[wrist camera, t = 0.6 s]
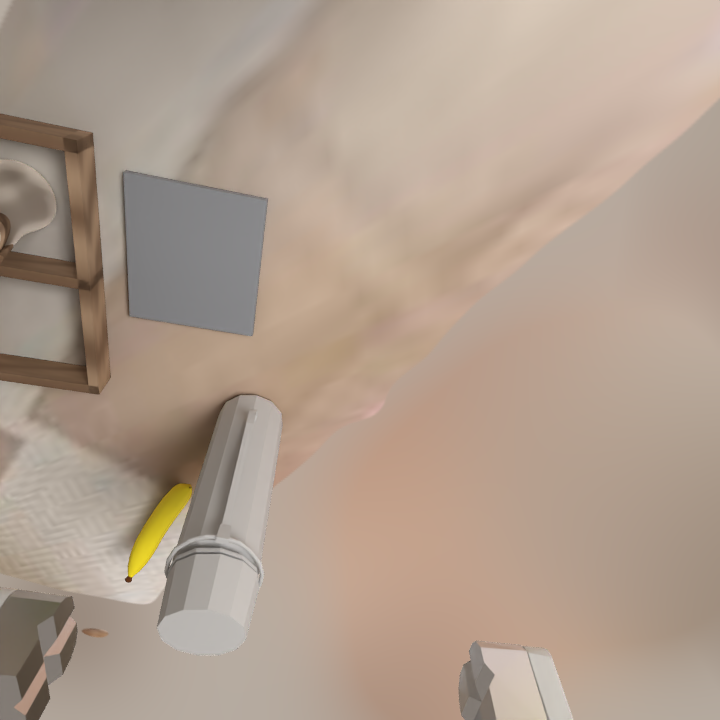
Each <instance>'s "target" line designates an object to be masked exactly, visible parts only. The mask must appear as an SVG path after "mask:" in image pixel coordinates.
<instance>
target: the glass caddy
mask: <svg viewBox="0 0 720 720" xmlns="http://www.w3.org/2000/svg"><path fill="white" fill-rule="evenodd" d="M0 138H2V139H7V140H12V141H17V142H22V143H27V144H32V145H37V146H42V147H47V148H52V149H57V150H62V151H64V153H65V163H66V173H67V182H68V192H69V202H70V211H71V221H72V231H73V240H74V250H75V260H76V263H75V262H69V261H63V260H58V259H52V258H46V257H40V256H35V255H29V254H23V253H18V252H12V251H10V252H9V254H8V255H7V256H6V257H5V259H4V260H3V261H2V262H1V263H0V276H4V277H10V278H16V279H22V280H28V281H34V282H40V283H46V284H52V285H58V286H63V287H69V288H75V289H79V298H80V308H81V318H82V328H83V337H84V347H85V357H86V366H80V365H73V364H67V363H60V362H54V361H47V360H40V359H34V358H27V357H20V356H14V355H7V354H0V380H2V381H9V382H16V383H23V384H30V385H37V386H44V387H51V388H58V389H65V390H72V391H79V392H86V393H92V394H100V393H101V391H102V390H103V388H104V387H105V385H106V384H107V382H108V381H109V379H110V378H111V376H110V362H109V349H108V335H107V321H106V308H105V294H104V280H103V266H102V253H101V239H100V225H99V212H98V198H97V184H96V170H95V157H94V143H93V133H91V132H86V131H81V130H77V129H72V128H67V127H62V126H57V125H53V124H48V123H43V122H38V121H33V120H28V119H24V118H19V117H14V116H9V115H4V114H0Z"/></svg>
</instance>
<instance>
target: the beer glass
mask: <svg viewBox="0 0 720 720" xmlns="http://www.w3.org/2000/svg"><path fill="white" fill-rule="evenodd" d="M56 208H57V206H56V199H55V195H54V193H53V190H52V188H51V187H50V185H49V183H48V182H47V181H46V180H45V178H44V177H43V176H42V175H41V174H40V173H39V172H37V171H36V170H35V169H33V168H32V167H30V166H28V165H26V164H24V163H22V162H19V161H15V160H8V159H4V160H0V263H1V262H2V261H3V260H4V259H5V257H6V256H7V255H8V254H9V252H10V251H11V250H12V248H13V247H14V246H15V244H16V243H17V242H18V241H19V239H20V238H21V237H22V236H24V235H25V234H28V233H31V232H34V231H38V230H40V229H43V228H45V227H46V226H48V225H49V224H50V223H51V222H52V220H53V219H54V217H55V214H56Z"/></svg>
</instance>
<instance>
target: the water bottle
mask: <svg viewBox="0 0 720 720" xmlns="http://www.w3.org/2000/svg"><path fill="white" fill-rule="evenodd" d="M281 432H282V414H281V412H280V411H279V410H278V409H277V407H276V406H275V405H274V404H273V403H272V402H271V401H270V400H267V399H265V398H262V397H260V396H257V395H240V396H237V397H235V398H233V399H231V400H229V401H227V402H226V403H225V405H224V406H223V408H222V410H221V412H220V413H219V417H218V420H217V423H216V426H215V429H214V432H213V435H212V438H211V441H210V445H209V448H208V451H207V454H206V457H205V460H204V463H203V466H202V469H201V473H200V476H199V479H198V482H197V485H196V488H195V491H194V494H193V497H192V501H191V504H190V507H189V510H188V513H187V516H186V519H185V522H184V526H183V529H182V532H181V535H180V538H179V541H178V544H177V546H176V547H174V549H173V550H172V552H171V554H170V555H169V557H168V558H167V561H166V566H165V575H166V578H167V582H166V587H165V591H164V596H163V601H162V606H161V611H160V615H159V620H158V625H157V629H158V632H159V635H160V637H161V640H162V641H164V642H165V643H167V644H169V645H170V646H171V647H173V648H174V649H176V650H179V651H183V652H187V653H190V654H194V655H221V654H224V653H227V652H230V651H233V650H236V649H238V647H239V646H240V645H241V644H242V643H243V642H244V641H245V640H246V637H247V633H248V630H249V625H250V621H251V618H252V614H253V610H254V606H255V603H256V599H257V595H258V591H259V588H260V587H261V585H262V581H263V577H264V571H263V567H262V563H261V559H262V552H263V545H264V540H265V533H266V527H267V521H268V514H269V508H270V501H271V495H272V489H273V483H274V476H275V470H276V464H277V457H278V451H279V445H280V438H281ZM173 556H174V557H173ZM172 558H173V562H172V564H171V566H170V562H171V560H172ZM169 566H170V567H169ZM259 572H260V578H259V579H258V574H259Z"/></svg>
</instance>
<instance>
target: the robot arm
mask: <svg viewBox="0 0 720 720" xmlns="http://www.w3.org/2000/svg"><path fill="white" fill-rule="evenodd" d="M73 610H74V602H73V597H72V596H65V595H57V594H49V593H41V592H33V591H25V590H19V589H11V588H1V587H0V720H39V718H40V717H41V715H42V713H43V711H44V709H45V707H46V705H47V704H48V702H49V700H50V694H49V688H48V685H49V684H51V683H52V682H53V681H55V680H56V679H57V678H59V677H60V676H61V675H63V673H64V671H65V669H66V667H67V665H68V663H69V661H70V659H71V656H72V653H73V650H74V647H75V644H76V639H77V623H76V622H75V621H74V620H73V619H72V618H71V617H70V615H71V613H72V611H73ZM469 653H470V659H471V660H470V661H469V662H467V663H466V664H464V665H463V668H462V671H461V674H460V681H459V703H460V710H461V715H462V717H463V718H464V719H465V720H573V717H572V714H571V711H570V708H569V705H568V702H567V700H566V697H565V694H564V691H563V688H562V685H561V682H560V679H559V677H558V673H557V671H556V668H555V665H554V662H553V659H552V656H551V654H550V653H549V651H548V650H547V649H545V648H539V647H528V646H521V645H516V644H505V643H493V642H484V641H475V642H474V643H472V645H471V648H470V650H469Z"/></svg>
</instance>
